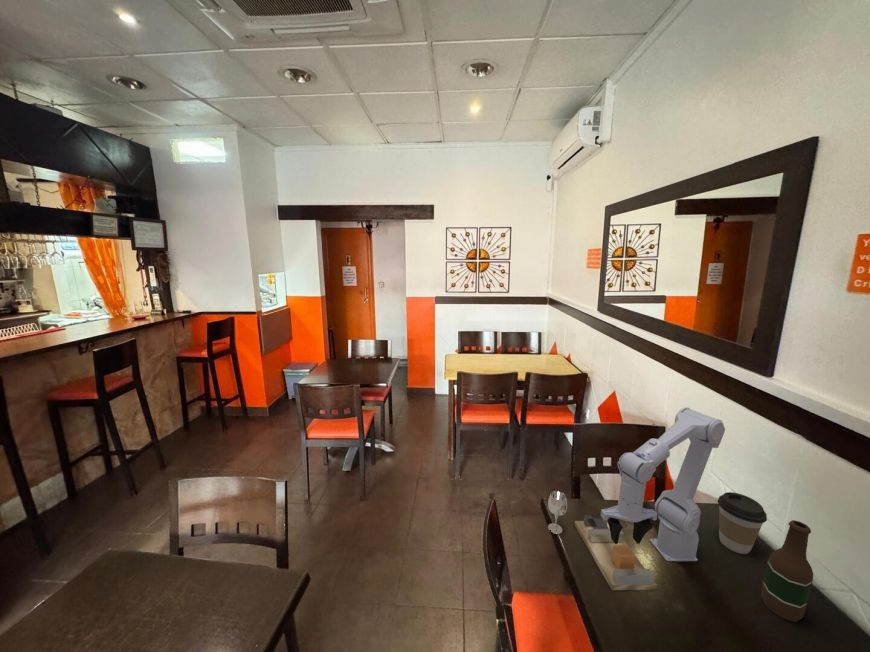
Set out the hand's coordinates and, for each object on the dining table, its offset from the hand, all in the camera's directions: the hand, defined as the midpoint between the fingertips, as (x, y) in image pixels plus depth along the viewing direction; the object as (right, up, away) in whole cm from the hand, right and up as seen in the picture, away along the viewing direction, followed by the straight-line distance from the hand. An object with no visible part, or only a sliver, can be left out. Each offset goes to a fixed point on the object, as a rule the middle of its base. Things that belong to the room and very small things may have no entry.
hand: (625, 541), depth 95 cm
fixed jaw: (0, -9, -4) cm, 9 cm away
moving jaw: (-1, -5, +13) cm, 14 cm away
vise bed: (0, -8, +6) cm, 10 cm away
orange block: (0, -8, +1) cm, 8 cm away
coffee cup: (+40, -9, +12) cm, 43 cm away
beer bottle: (+35, -12, -8) cm, 38 cm away
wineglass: (-14, -7, +17) cm, 22 cm away
